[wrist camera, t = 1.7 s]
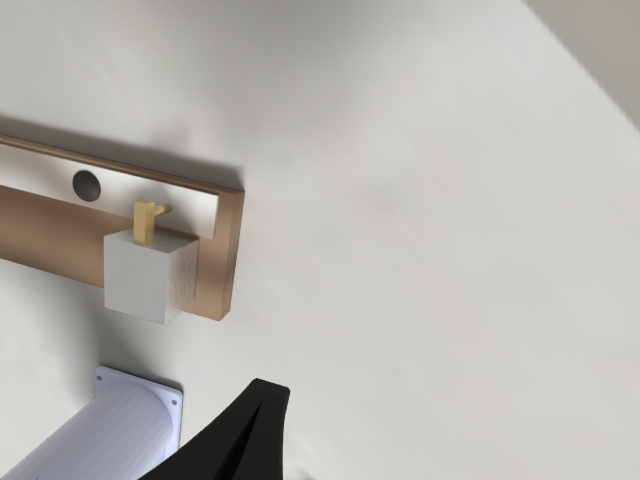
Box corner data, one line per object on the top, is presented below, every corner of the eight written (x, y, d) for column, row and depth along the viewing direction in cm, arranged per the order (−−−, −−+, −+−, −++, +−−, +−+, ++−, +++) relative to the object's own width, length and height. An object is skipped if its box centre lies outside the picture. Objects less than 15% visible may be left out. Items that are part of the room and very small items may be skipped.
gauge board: (229, 310, 22) (195, 347, 18) (-61, 228, 25) (-152, 243, 20) (244, 192, 19) (208, 201, 15) (-82, 114, 22) (-190, 104, 18)
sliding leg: (193, 302, 20) (164, 325, 18) (141, 287, 21) (104, 307, 18) (202, 203, 18) (170, 211, 16) (143, 189, 19) (103, 194, 16)
